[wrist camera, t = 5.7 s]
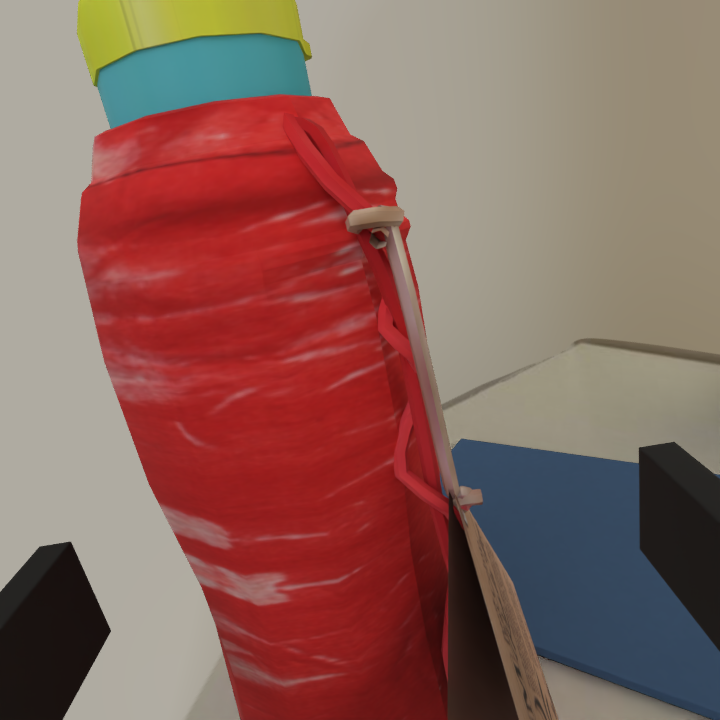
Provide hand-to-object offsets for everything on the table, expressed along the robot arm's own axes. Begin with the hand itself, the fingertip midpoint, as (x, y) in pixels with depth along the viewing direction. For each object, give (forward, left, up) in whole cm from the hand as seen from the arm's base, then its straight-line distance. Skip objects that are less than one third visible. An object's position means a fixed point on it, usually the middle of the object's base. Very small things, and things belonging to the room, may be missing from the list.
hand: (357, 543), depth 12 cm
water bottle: (-1, +1, -13) cm, 13 cm away
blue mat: (+1, +17, -13) cm, 21 cm away
